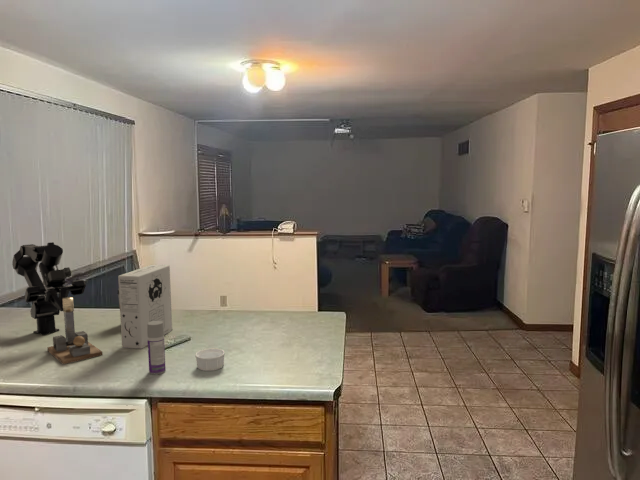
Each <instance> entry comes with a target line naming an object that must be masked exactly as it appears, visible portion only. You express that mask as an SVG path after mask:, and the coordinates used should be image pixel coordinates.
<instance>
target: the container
mask: <svg viewBox="0 0 640 480" xmlns="http://www.w3.org/2000/svg"><path fill="white" fill-rule="evenodd" d="M147 334H148V345H147V353H148V357H147V358H148V373H149V374H150V375H154V374H156V375H161V374H164V373H166V371H167V370H166V349H165V335H164V329H163V322H162V321H151V322H148V323H147Z"/></svg>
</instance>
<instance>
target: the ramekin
mask: <svg viewBox="0 0 640 480" xmlns="http://www.w3.org/2000/svg"><path fill="white" fill-rule="evenodd" d="M225 354H226V353H225V350H224V349H222V348H213V347H212V348H209V347H208V348H204V349H200V350H198V351H196V352H195V360H196V367H197V368H198V370H201V371H204V372H205V371H206V372H213V371H218V370H220V369H221V368H223V367H224V364H225Z"/></svg>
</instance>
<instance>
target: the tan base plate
mask: <svg viewBox="0 0 640 480" xmlns="http://www.w3.org/2000/svg"><path fill="white" fill-rule="evenodd" d="M52 343H53V344H52V345H53V346H47V348H46V349H47V352H48V353H50V354H51V355H52V356H53V357H54V358H56V359H57V361H59V362H60V363H61V364H62V365H65V364H70V363H74V362H78V361H82V360H86V359H87V360H88V359H91V358H96V357H100V356H103V351H102V350H101V349H100V348H98V347H96V346H95V345H93V343H90V342H89V339H88V332H86V331H84V330H81V331H75V338H74V340H73V343H74V345H70V346H66V336H65V335H63V334H62V335H61V334H60V335H55V336H52Z"/></svg>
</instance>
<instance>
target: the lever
mask: <svg viewBox="0 0 640 480" xmlns="http://www.w3.org/2000/svg"><path fill="white" fill-rule="evenodd" d="M62 301H63V311H62V312H63V318H64V319H63V321H64V333H65V335H64V336H65V338H66V346H70V345H74V343H73V340H74V338H75V332H76V331H75V330H76V329H75V316H74V315H75V313H74V312H75V307H74V306H75V305H74V297H73V296H68V297H66V298H62Z"/></svg>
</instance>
